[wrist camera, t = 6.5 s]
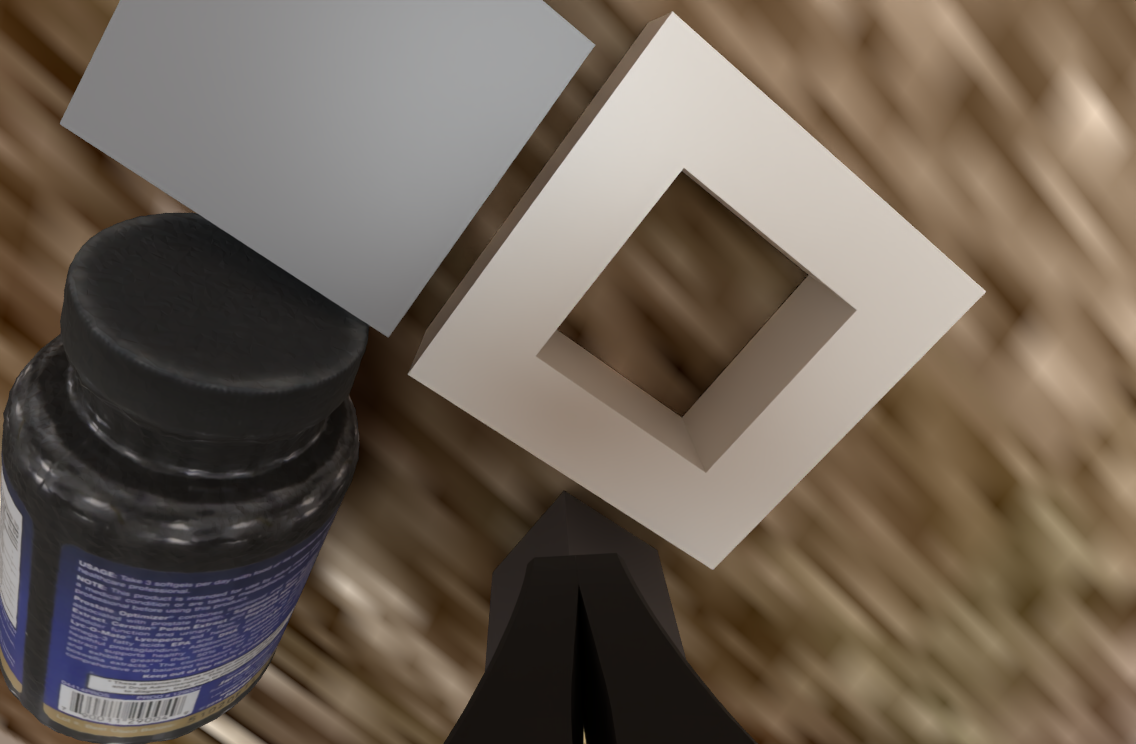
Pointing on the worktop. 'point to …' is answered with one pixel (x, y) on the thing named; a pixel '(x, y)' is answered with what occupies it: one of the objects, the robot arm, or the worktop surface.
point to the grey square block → (328, 124)
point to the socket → (764, 366)
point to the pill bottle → (168, 479)
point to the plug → (575, 534)
